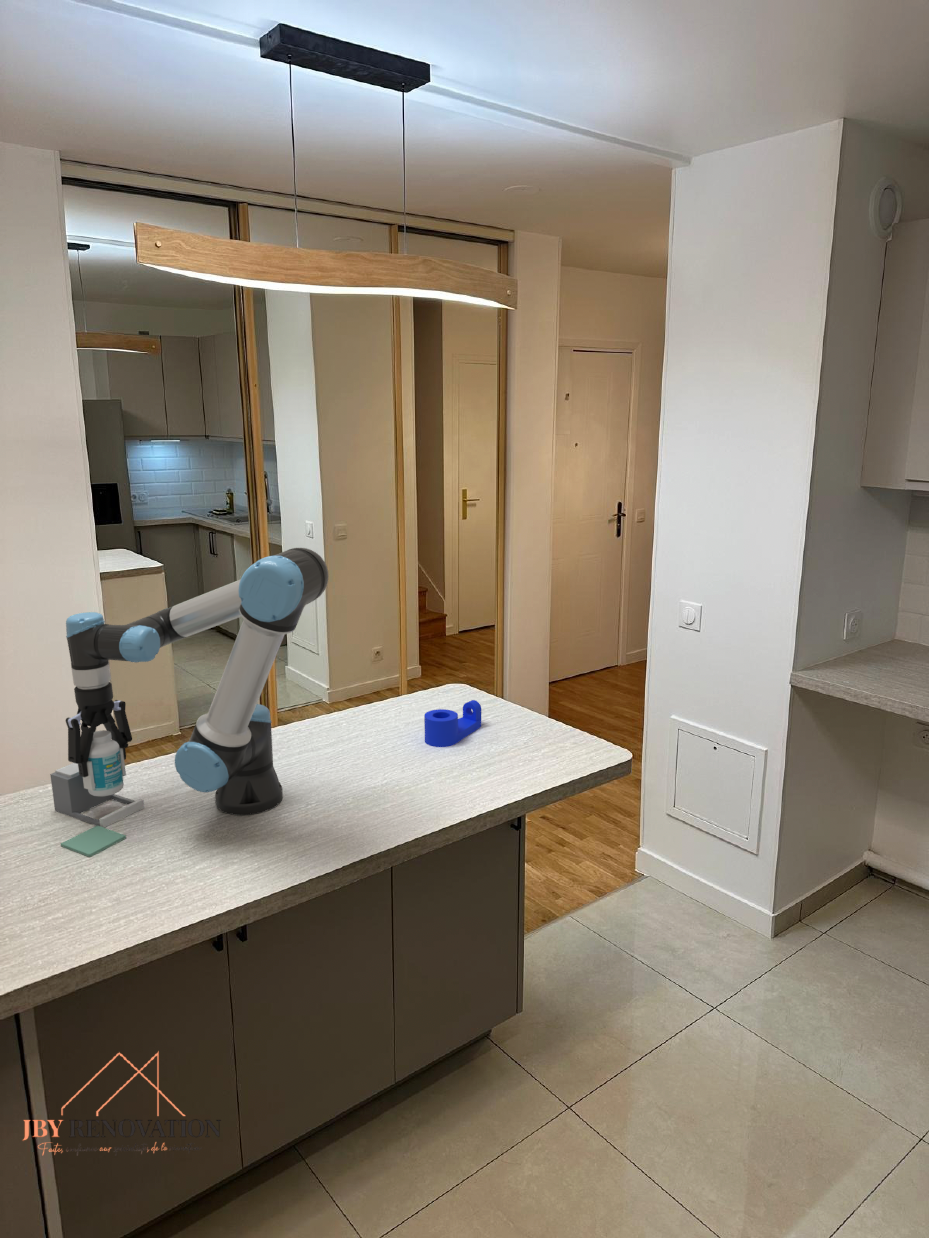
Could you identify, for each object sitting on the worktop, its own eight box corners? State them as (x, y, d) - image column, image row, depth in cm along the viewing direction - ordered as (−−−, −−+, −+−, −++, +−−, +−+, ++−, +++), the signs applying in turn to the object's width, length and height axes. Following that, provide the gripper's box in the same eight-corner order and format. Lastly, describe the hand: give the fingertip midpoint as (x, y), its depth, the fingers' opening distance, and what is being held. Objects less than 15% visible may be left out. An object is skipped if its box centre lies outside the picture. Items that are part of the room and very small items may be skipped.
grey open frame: (144, 807, 194) (140, 768, 192) (103, 828, 185) (98, 787, 182) (96, 792, 202) (92, 754, 199) (55, 810, 192) (49, 771, 190)
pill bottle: (111, 799, 186) (104, 741, 183) (81, 796, 188) (73, 739, 185) (131, 784, 194) (124, 728, 190) (101, 782, 195) (94, 726, 192)
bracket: (443, 750, 227) (443, 723, 225) (417, 742, 232) (417, 716, 230) (487, 729, 242) (487, 703, 240) (462, 721, 247) (462, 696, 245)
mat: (126, 837, 181) (125, 835, 181) (89, 857, 173) (89, 854, 173) (97, 827, 185) (97, 825, 185) (60, 846, 177) (60, 843, 177)
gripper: (119, 669, 195) (131, 761, 201) (38, 695, 178) (53, 796, 183) (142, 673, 191) (153, 767, 197) (62, 700, 174) (76, 803, 180)
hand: (105, 781), depth 190 cm, fingers closed on pill bottle, 7 cm apart
